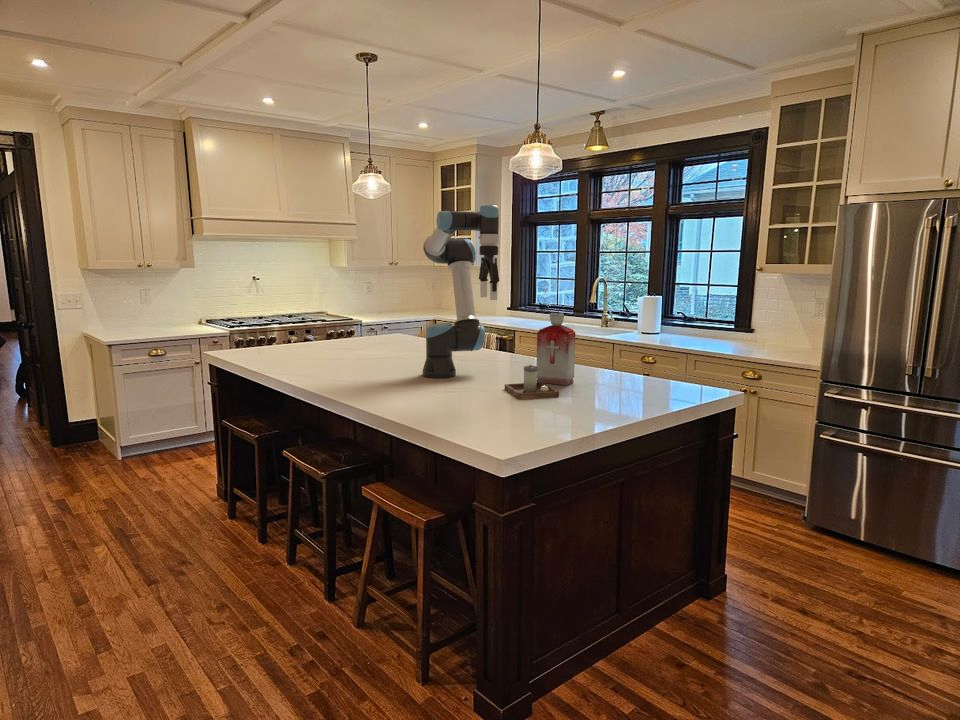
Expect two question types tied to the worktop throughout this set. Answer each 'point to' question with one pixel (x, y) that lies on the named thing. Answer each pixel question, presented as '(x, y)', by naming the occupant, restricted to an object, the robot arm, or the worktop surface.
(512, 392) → the tray
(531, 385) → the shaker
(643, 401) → the worktop surface
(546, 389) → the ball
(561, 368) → the bottle
